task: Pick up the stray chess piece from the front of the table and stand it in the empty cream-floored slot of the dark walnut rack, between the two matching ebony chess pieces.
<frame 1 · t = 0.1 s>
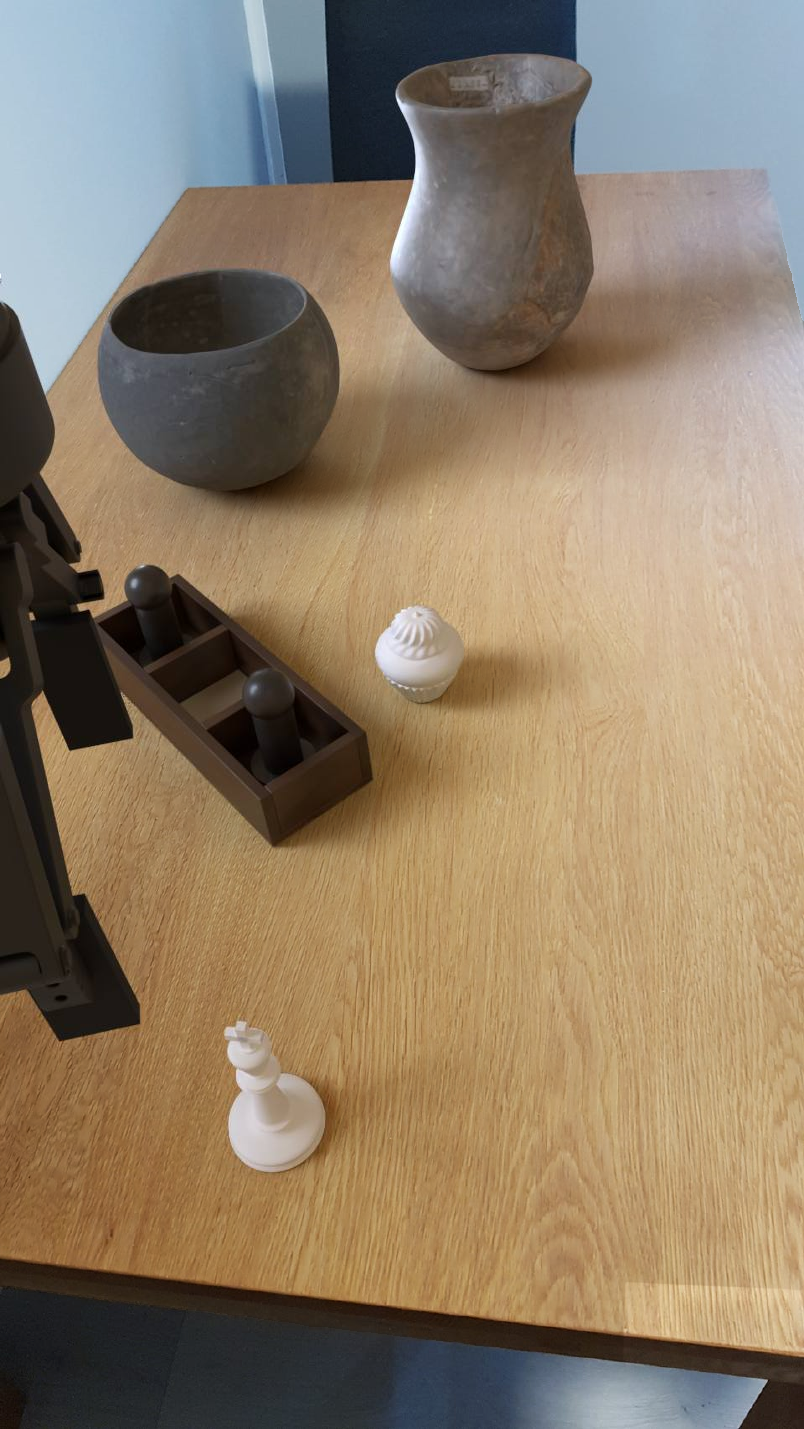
hand: (101, 864, 41), 21 cm above the table, tool pointing down, fingers open, 13 cm apart
chess piece: (278, 1125, 55), on the table
ebony piece 1: (172, 664, 79), resting on rack
muffin: (423, 689, 76), on the table
rack: (228, 721, 75), on the table
ebony piece 2: (286, 772, 71), resting on rack
bowl: (240, 467, 99), on the table
vase: (494, 356, 110), on the table
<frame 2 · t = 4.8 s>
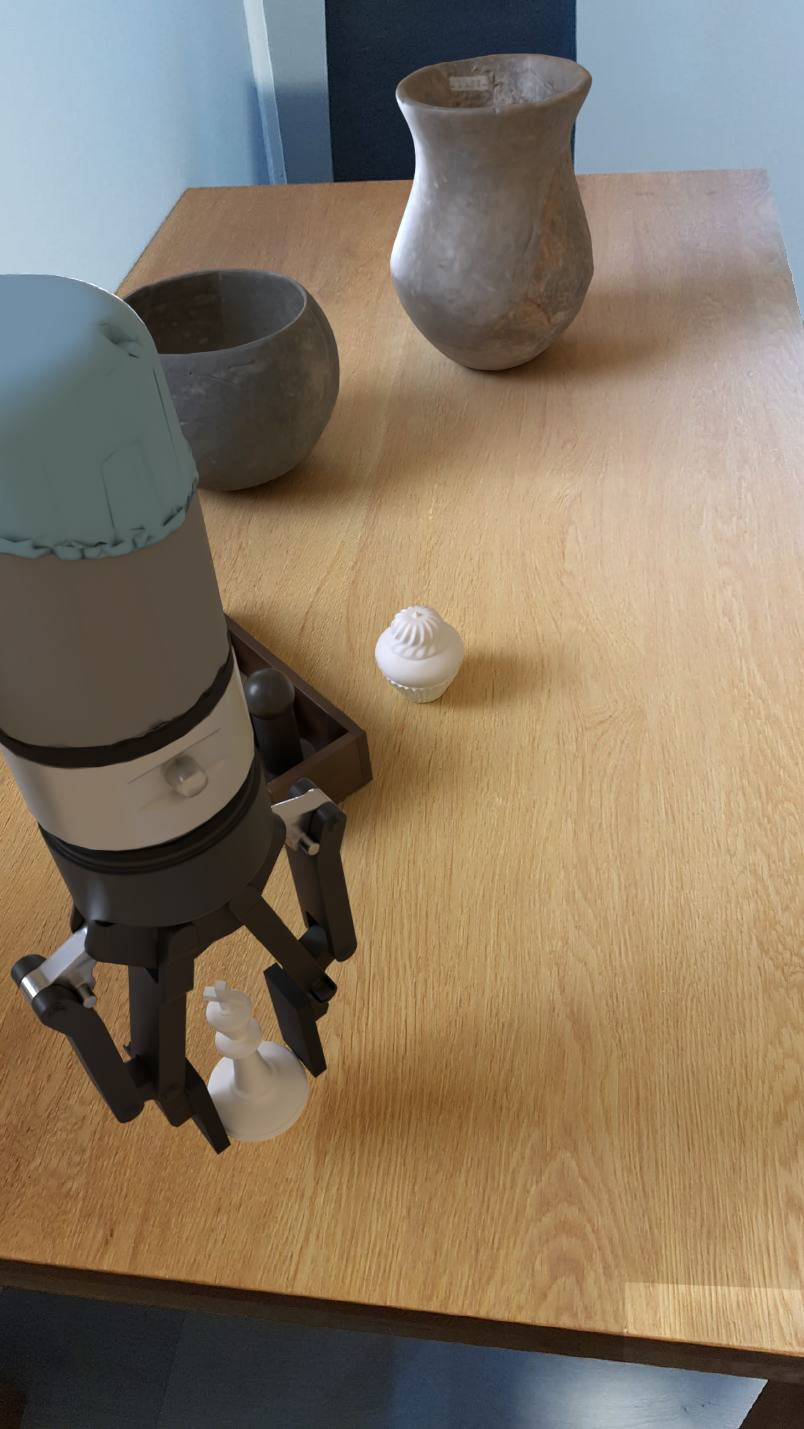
hand: (257, 1090, 52), 4 cm above the table, tool pointing down, fingers closed on chess piece, 5 cm apart
chess piece: (259, 1094, 52), point 3 cm above the table, touching gripper
everything else where it was.
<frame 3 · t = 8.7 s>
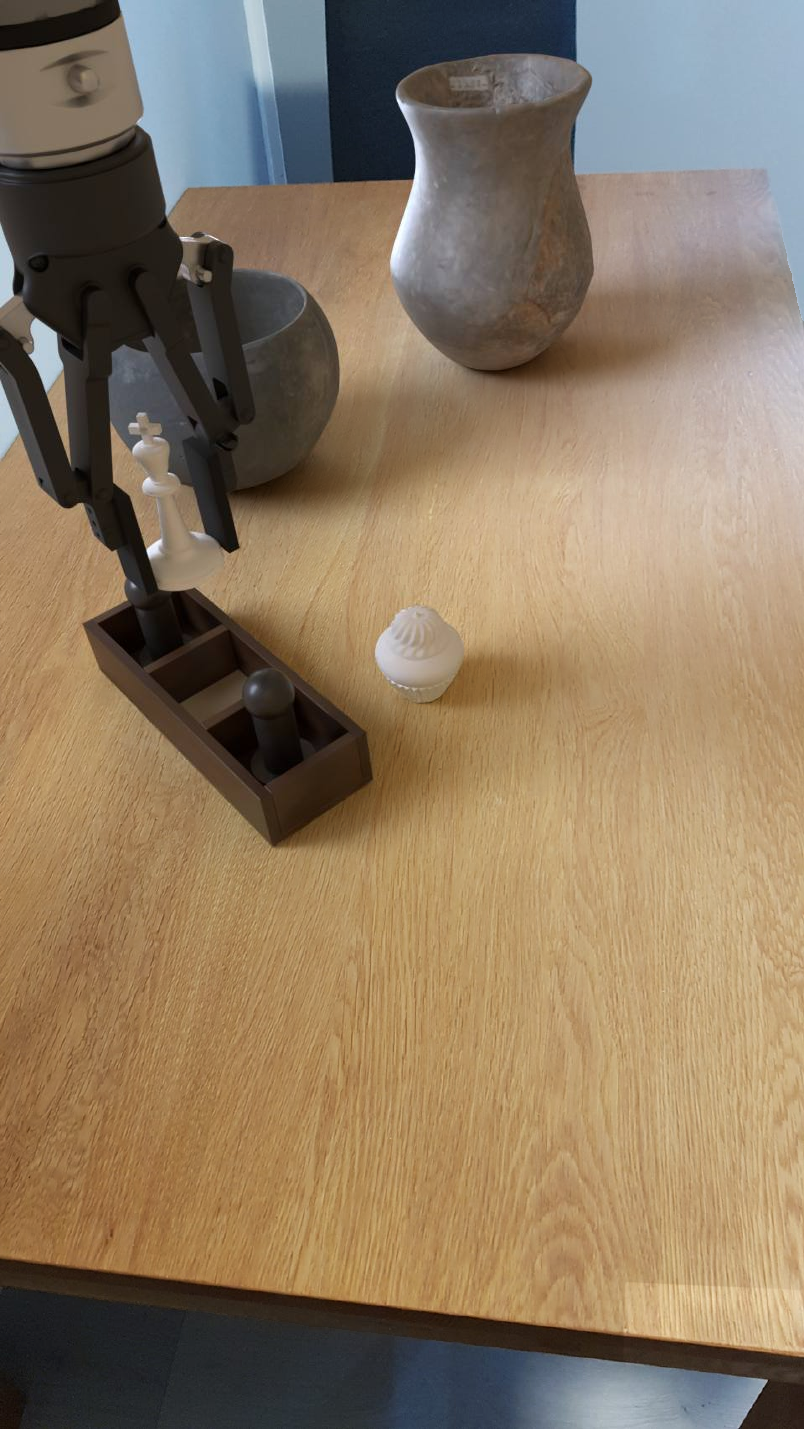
hand: (182, 561, 64), 15 cm above the table, tool pointing down, fingers closed on chess piece, 5 cm apart
chess piece: (184, 568, 64), point 14 cm above the table, touching gripper
everything else where it was.
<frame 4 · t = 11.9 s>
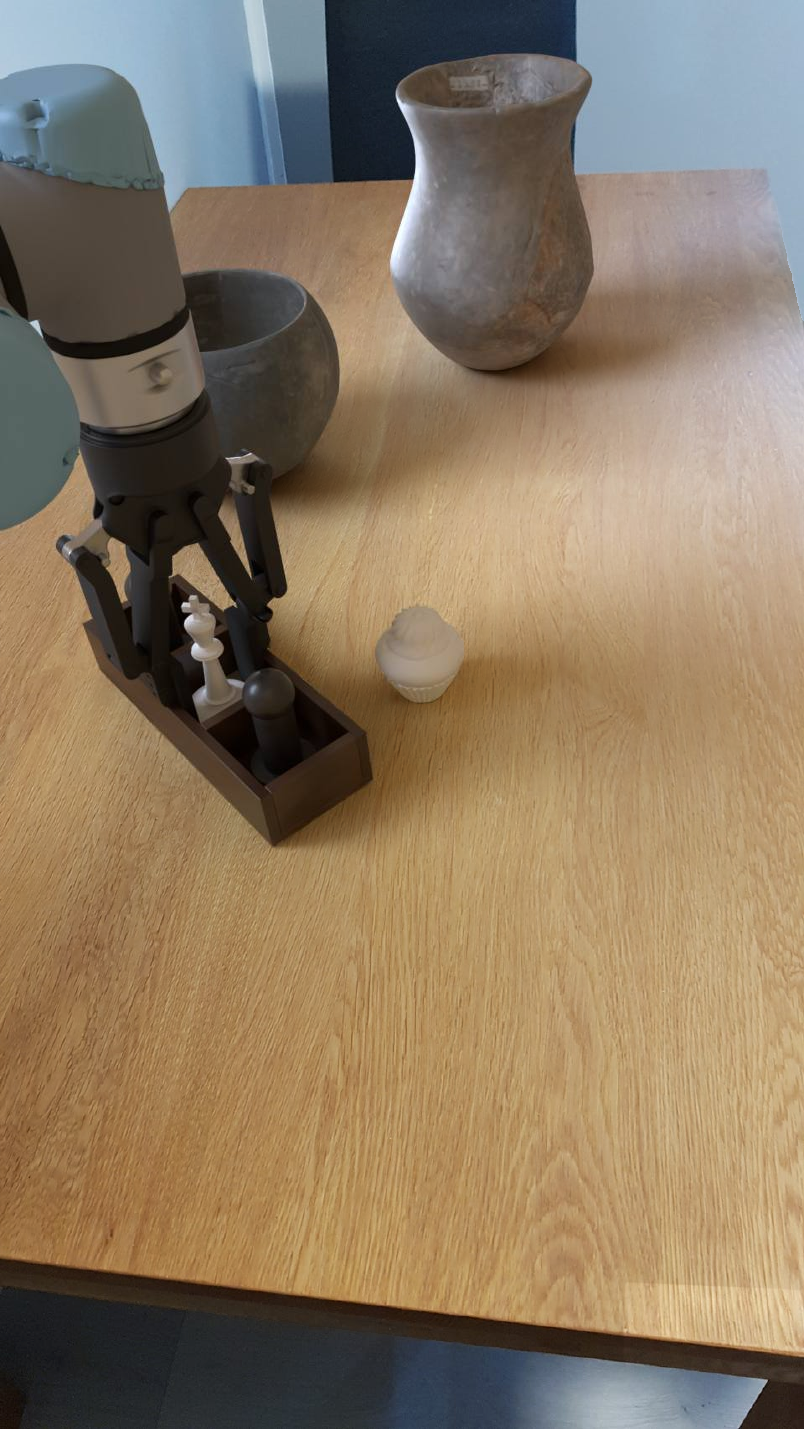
hand: (222, 706, 74), 1 cm above the table, tool pointing down, fingers closed on chess piece, 5 cm apart
chess piece: (224, 712, 74), point 1 cm above the table, touching gripper
everything else where it was.
when the fingers open (4 cm above the table, at t = 13.9 s): chess piece stays where it is, resting on rack.
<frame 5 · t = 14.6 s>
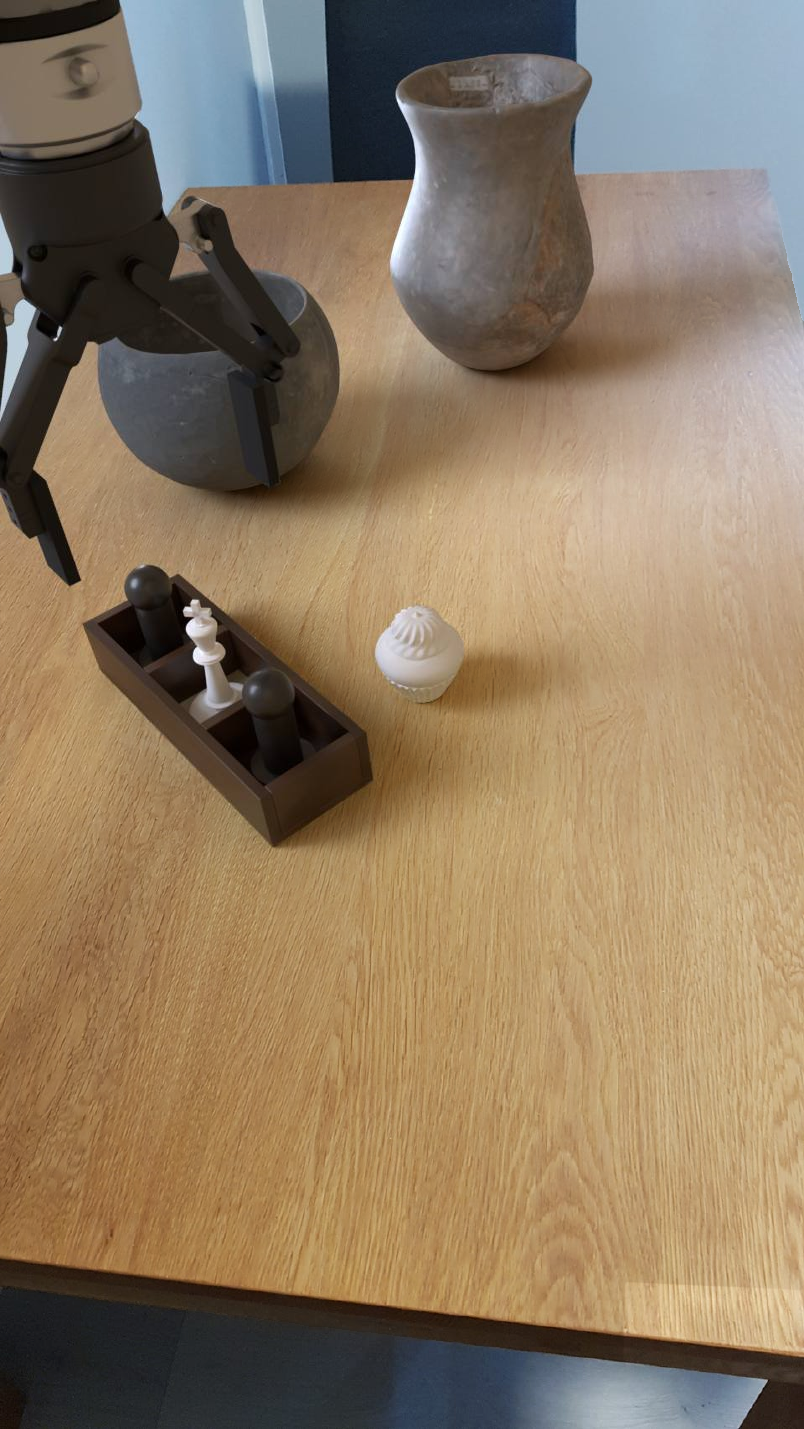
hand: (168, 523, 63), 17 cm above the table, tool pointing down, fingers open, 13 cm apart
chess piece: (226, 715, 75), point 1 cm above the table, touching rack
everything else where it was.
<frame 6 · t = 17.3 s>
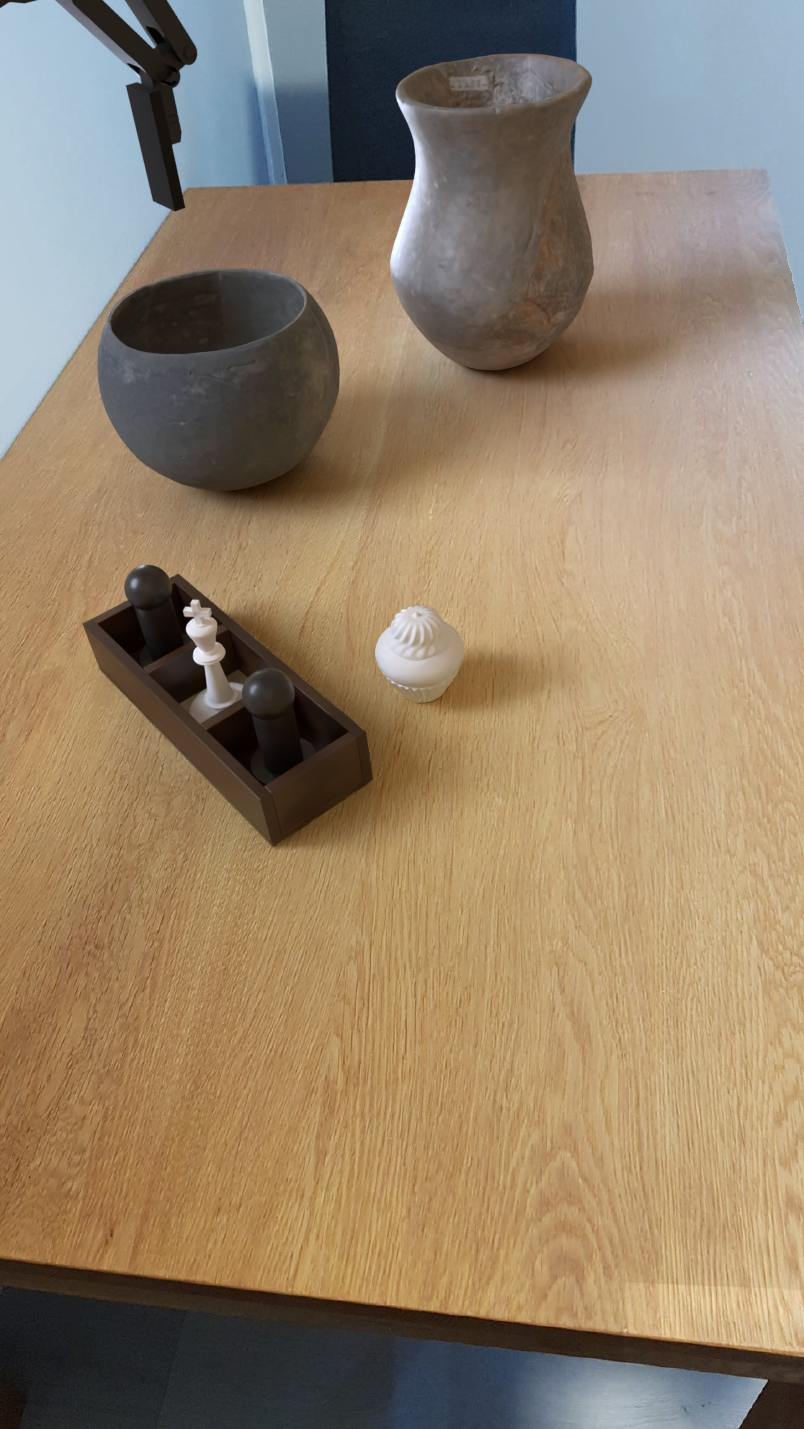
hand: (71, 240, 64), 29 cm above the table, tool pointing down, fingers open, 13 cm apart
nothing on the table moved.
at the end: chess piece 0.0 cm off-centre in the rack, point 0.6 cm above the rack's base; chess piece tilted 0°; the gripper is holding nothing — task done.
